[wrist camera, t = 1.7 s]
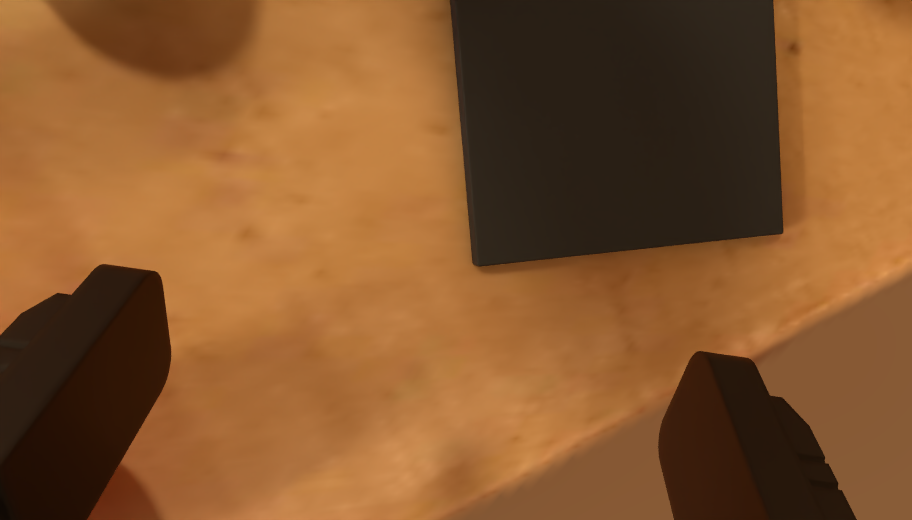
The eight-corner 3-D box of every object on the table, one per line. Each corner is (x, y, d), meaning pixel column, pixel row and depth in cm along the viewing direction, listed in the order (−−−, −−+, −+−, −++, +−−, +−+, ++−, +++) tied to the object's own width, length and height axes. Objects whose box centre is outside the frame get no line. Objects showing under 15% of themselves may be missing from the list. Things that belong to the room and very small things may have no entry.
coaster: (442, -82, 27) (447, -93, 26) (755, -85, 29) (770, -95, 29) (472, 264, 28) (477, 266, 27) (769, 233, 31) (784, 233, 30)
